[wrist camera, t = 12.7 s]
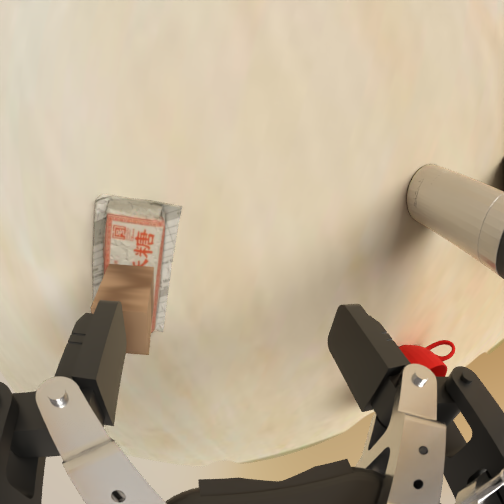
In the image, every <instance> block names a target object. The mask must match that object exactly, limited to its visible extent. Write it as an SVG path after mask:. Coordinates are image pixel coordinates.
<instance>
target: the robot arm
mask: <svg viewBox="0 0 504 504" xmlns="http://www.w3.org/2000/svg"><path fill="white" fill-rule="evenodd" d="M407 206H408V210H409V213H410V214H411V216H412V217H413V218H414V219H415V220H416V221H418V222H419V223H421V224H423V225H424V226H426V227H428V228H429V229H431V230H432V231H434V232H435V233H437V234H439V235H440V236H442V237H443V238H445V239H447V240H448V241H450V242H451V243H453V244H454V245H456V246H457V247H459V248H460V249H462V250H463V251H465V252H466V253H468V254H469V255H471V256H472V257H474V258H475V259H477V260H478V261H480V262H481V263H482V264H484V265H485V266H487V267H488V268H490V269H491V270H492V271H494V272H495V273H496V274H498V275H499V276H501V277H502V278H503V279H504V192H503V191H501V190H499V189H496V188H494V187H492V186H489V185H487V184H485V183H482V182H480V181H477V180H475V179H472V178H470V177H467V176H465V175H462V174H459V173H457V172H454V171H451V170H449V169H446V168H443V167H440V166H437V165H433V164H429V165H425V166H424V167H422V168H420V169H419V170H418V171H417V172H416V174H415V175H414V176H413V178H412V180H411V182H410V185H409V188H408V193H407ZM126 344H127V342H126V331H125V325H124V318H123V311H122V304H121V302H120V301H108V300H100V301H99V302H98V305H97V307H96V309H95V312H94V314H90V313H85V314H84V315H83V316H82V317H81V318H80V319H79V320H78V321H77V322H76V324H75V326H74V329H73V331H72V335H71V336H70V338H69V340H68V343H67V345H66V348H65V350H64V353H63V355H62V358H61V360H60V363H59V366H58V368H57V371H56V374H55V376H54V377H52V378H49V379H47V380H45V381H44V382H43V383H42V384H41V385H40V386H39V387H38V389H37V391H35V392H26V393H13V394H12V393H11V391H10V389H9V388H8V387H7V386H6V385H5V384H4V383H2V382H0V504H41V499H42V486H43V476H44V467H45V459H46V457H49V456H61V457H62V459H63V466H64V468H65V470H66V472H67V474H68V476H69V477H70V479H71V481H72V482H73V484H74V486H75V487H76V489H77V491H78V492H79V494H80V495H81V497H82V498H83V500H84V501H85V503H86V504H441V503H440V497H441V490H442V482H443V474H444V476H445V478H446V480H447V482H448V484H449V486H450V488H451V490H452V492H453V495H454V497H455V499H456V503H455V504H504V413H503V411H502V410H501V408H500V407H499V405H498V404H497V403H496V401H495V400H494V398H493V397H492V396H491V394H490V393H489V392H488V391H487V389H486V387H485V386H484V385H483V383H482V382H481V381H480V379H479V378H478V377H477V375H476V374H475V373H474V372H473V371H471V370H470V369H468V368H466V367H462V366H459V367H456V368H454V369H453V371H452V372H451V374H450V375H449V377H437V376H435V375H434V374H433V372H432V371H431V370H430V369H428V368H427V367H425V366H423V365H420V364H411V363H410V362H409V360H408V359H407V358H406V356H405V355H404V354H403V352H402V351H401V350H400V348H399V347H398V346H397V345H396V343H395V342H394V341H392V338H391V337H390V335H389V334H387V331H386V330H385V329H384V328H383V326H382V325H381V324H380V323H379V322H378V321H376V320H375V319H374V318H372V317H371V316H369V315H368V314H367V313H366V312H365V310H364V309H363V308H362V306H361V305H359V304H348V305H340V306H339V307H338V309H337V312H336V315H335V318H334V321H333V324H332V327H331V330H330V332H329V335H328V347H329V350H330V352H331V354H332V356H333V358H334V360H335V362H336V364H337V365H338V367H339V369H340V371H341V373H342V375H343V377H344V379H345V381H346V382H347V384H348V386H349V388H350V390H351V392H352V394H353V396H354V398H355V400H356V402H357V403H358V405H359V407H360V409H361V411H362V412H365V411H369V410H373V409H374V411H375V415H374V416H373V418H372V421H371V425H370V429H369V432H368V436H367V440H366V443H365V447H364V450H363V454H362V456H361V458H360V460H359V462H358V463H357V465H356V467H351V466H350V464H349V462H348V460H347V459H345V460H341V461H337V462H333V463H329V464H325V465H320V466H316V467H313V468H311V469H309V470H307V471H305V472H302V473H300V474H298V475H296V476H293V477H291V478H288V479H286V480H283V481H279V482H276V481H263V480H253V479H244V478H229V479H204V480H199V488H195V489H191V490H188V491H185V492H182V493H180V494H178V495H176V496H173V497H172V498H170V499H169V500H167V501H166V502H165V501H164V500H163V499H162V498H161V497H160V496H159V495H158V494H157V493H156V492H155V490H154V489H153V488H152V487H151V486H150V485H149V484H148V482H147V481H146V480H145V479H144V478H143V477H142V475H141V474H140V473H139V472H138V471H137V469H136V468H135V467H134V466H133V464H132V463H131V462H130V460H129V459H128V458H127V457H126V455H125V454H124V453H123V451H122V450H121V449H120V447H119V446H118V445H117V443H116V442H115V441H114V440H113V439H111V438H110V436H109V435H108V434H107V432H106V431H105V429H104V428H103V427H104V425H110V426H114V419H115V412H116V405H117V399H118V392H119V386H120V381H121V375H122V369H123V364H124V359H125V354H126ZM460 411H461V413H462V414H463V416H464V417H465V419H466V420H467V422H468V424H469V425H470V427H471V429H472V438H471V440H470V441H469V442H468V443H466V441H465V440H464V438H463V436H462V435H461V433H460V431H459V430H458V428H457V426H456V425H455V423H454V421H453V419H454V418H455V417H456V416H457V415H458V414H459V413H460Z"/></svg>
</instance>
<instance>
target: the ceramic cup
mask: <svg viewBox="0 0 504 504" xmlns="http://www.w3.org/2000/svg"><path fill="white" fill-rule="evenodd" d="M443 344H446V345H450V346H451V347H452V351H451V352H450V353H449V354H448V355H447V356H438V355H435V354H434V353H433V352H431V351H430V350H431V349H432V348H434V347H436V346H439V345H443ZM399 348H400V350H401V351H402V352H403V354H404V355H405V356H406V358H407V359H408V360H409V362H410V363H411V364H420V365H423V366H425V367H427V368H428V369H430V370H431V371H432V372H433V374H434V375H435V376H437V377H445V375H446V373H447V366H446V365H445V364H444V363H443V362H442V361H445V360H447V359H449V358H451V357H452V356H453V354H454V353H455V346H454V344H453V343H452V342H450V341H447V340H441V341H438V342H435V343H433V344H431V345H429V346H427V347H426V348H424V347H421V346H416V345H403V346H400V347H399Z"/></svg>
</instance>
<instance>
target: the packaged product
mask: <svg viewBox="0 0 504 504" xmlns="http://www.w3.org/2000/svg"><path fill="white" fill-rule="evenodd" d="M181 209H182V206H178V205H172V204H167V203H162V202H157V201H151V200H142V199H132V198H126V197H121V196H115V195H108V194H101V195H100V196H99V197H98V198H97V199H96V206H95V219H94V242H93V301H94V298H95V296H96V293H97V291H98V289H99V286H100V284H101V281H102V279H103V277H104V274H105V272H106V270H107V267H108V265H109V264H119V265H133V266H146V267H154V307H153V316H152V325H151V333H152V332H153V331H156V330H157V331H161V332H163V328H164V321H165V313H166V306H167V297H168V289H169V281H170V275H171V267H172V260H173V254H174V250H175V244H176V237H177V231H178V224H179V219H180V214H181Z"/></svg>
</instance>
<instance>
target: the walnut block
mask: <svg viewBox="0 0 504 504" xmlns="http://www.w3.org/2000/svg"><path fill="white" fill-rule="evenodd" d="M100 300H108V301H120V302H121V304H122V311H123V318H124V325H125V331H126V342H127V344H126V353H130V354H143V355H149V347H150V335H151V325H152V316H153V307H154V267H146V266H133V265H119V264H109V265H108V267H107V270H106V272H105V274H104V277H103V279H102V281H101V284H100V286H99V289H98V291H97V293H96V296H95V298H94V301H93V304H92V306H91V313H92V314H94V312H95V309H96V307H97V305H98V302H99V301H100Z"/></svg>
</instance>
